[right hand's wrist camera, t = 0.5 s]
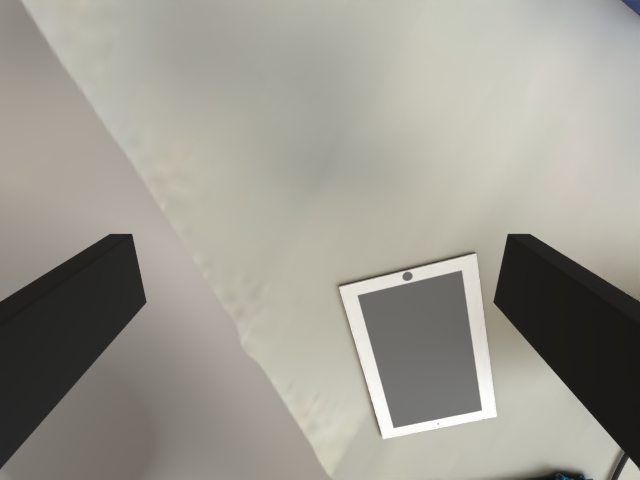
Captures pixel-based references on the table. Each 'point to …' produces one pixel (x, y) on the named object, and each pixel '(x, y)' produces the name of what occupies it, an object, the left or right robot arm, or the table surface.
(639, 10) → the box
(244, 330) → the table surface
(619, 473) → the left robot arm
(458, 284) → the tablet
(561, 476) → the submachine gun
